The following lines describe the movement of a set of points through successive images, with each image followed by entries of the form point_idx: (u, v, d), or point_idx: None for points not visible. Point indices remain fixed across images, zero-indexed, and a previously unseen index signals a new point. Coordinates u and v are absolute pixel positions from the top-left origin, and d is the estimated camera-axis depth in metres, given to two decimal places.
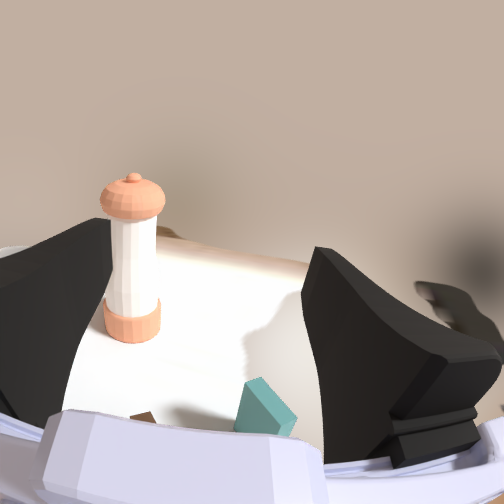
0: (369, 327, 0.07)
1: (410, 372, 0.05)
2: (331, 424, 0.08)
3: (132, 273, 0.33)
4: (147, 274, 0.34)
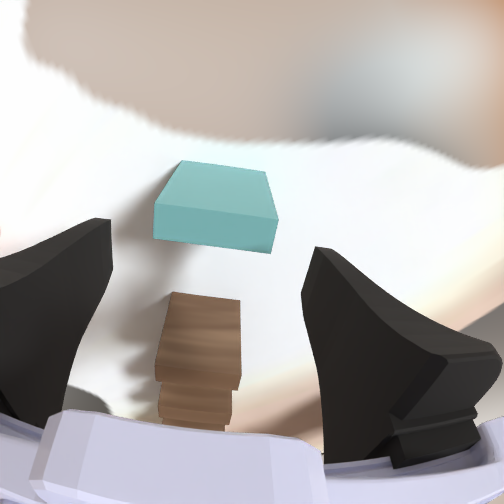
0: (369, 327, 0.07)
1: (410, 372, 0.05)
2: (331, 424, 0.08)
3: None
4: None
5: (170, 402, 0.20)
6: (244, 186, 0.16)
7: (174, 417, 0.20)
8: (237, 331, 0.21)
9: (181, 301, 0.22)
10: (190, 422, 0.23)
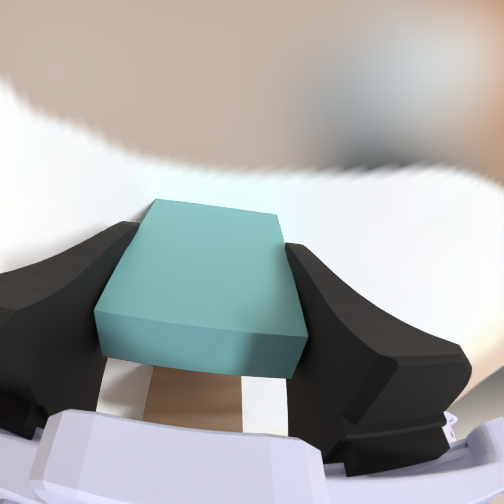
0: (327, 325, 0.07)
1: (360, 374, 0.05)
2: (294, 425, 0.08)
3: None
4: None
5: None
6: (248, 252, 0.10)
7: None
8: (238, 416, 0.15)
9: (166, 373, 0.17)
10: None
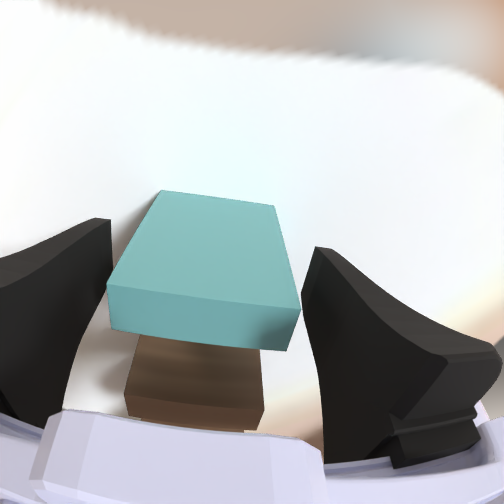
0: (369, 327, 0.07)
1: (410, 372, 0.05)
2: (331, 424, 0.08)
3: None
4: None
5: None
6: (247, 237, 0.11)
7: None
8: None
9: None
10: None
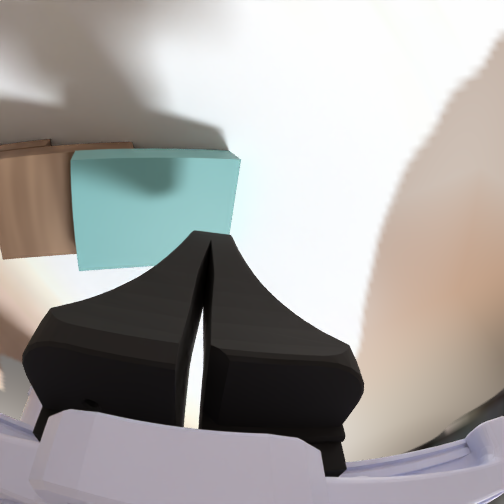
0: (210, 314, 0.06)
1: (208, 366, 0.05)
2: (199, 420, 0.07)
3: None
4: None
5: None
6: (155, 240, 0.14)
7: None
8: (67, 250, 0.14)
9: None
10: None
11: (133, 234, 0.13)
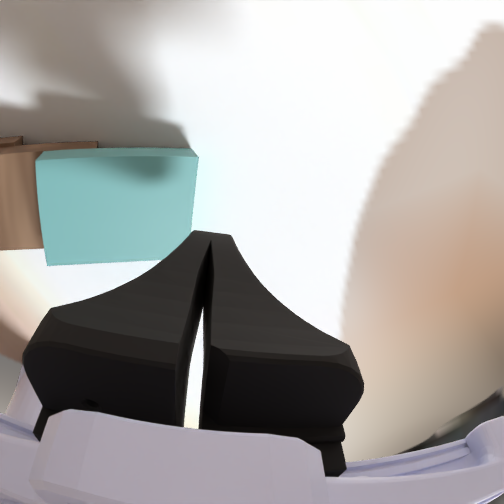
0: (210, 314, 0.06)
1: (208, 366, 0.05)
2: (199, 420, 0.07)
3: None
4: None
5: None
6: (116, 237, 0.14)
7: None
8: (35, 245, 0.14)
9: None
10: None
11: (95, 231, 0.13)
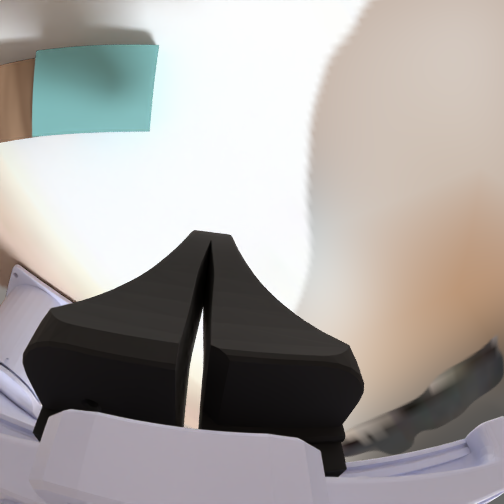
0: (210, 314, 0.06)
1: (208, 366, 0.05)
2: (199, 420, 0.07)
3: None
4: None
5: None
6: (90, 110, 0.15)
7: None
8: (22, 135, 0.15)
9: None
10: None
11: (74, 104, 0.14)
